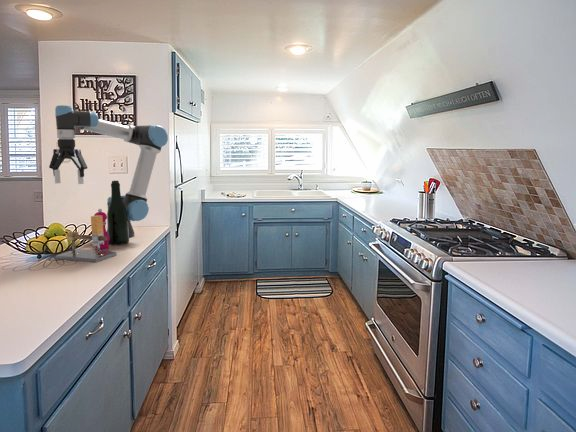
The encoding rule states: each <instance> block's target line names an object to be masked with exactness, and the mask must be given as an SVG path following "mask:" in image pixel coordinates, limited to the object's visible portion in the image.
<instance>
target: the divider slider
mask: <svg viewBox="0 0 576 432" xmlns="http://www.w3.org/2000/svg"><path fill="white" fill-rule="evenodd" d="M90 227H91V236H92V240H91V241H92V247H95V246H97V249H98V250H97V249H96V250H97V251H98V253H100V252H99V251H101V250H100V244H104V241H100V240H99V236H104V233H103V217H102V216H100V215H96V216H94V215H93V216H90Z"/></svg>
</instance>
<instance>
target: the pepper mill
mask: <svg viewBox="0 0 576 432" xmlns="http://www.w3.org/2000/svg"><path fill="white" fill-rule="evenodd" d="M97 211H98V212H95V213H94V215H93V216H96V215H100V216H102V217H103V233H104V237H107V240H105V241H104V244H100V251H105V250H108V249H110V244H109V243H108V242H109V241H110V239H109V236H108V234H107V228H106V225H107V213H105V211H104V212H103V210H102V208H98V210H97ZM94 247H95V250H97V251H98V249H97V246H94Z"/></svg>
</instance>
